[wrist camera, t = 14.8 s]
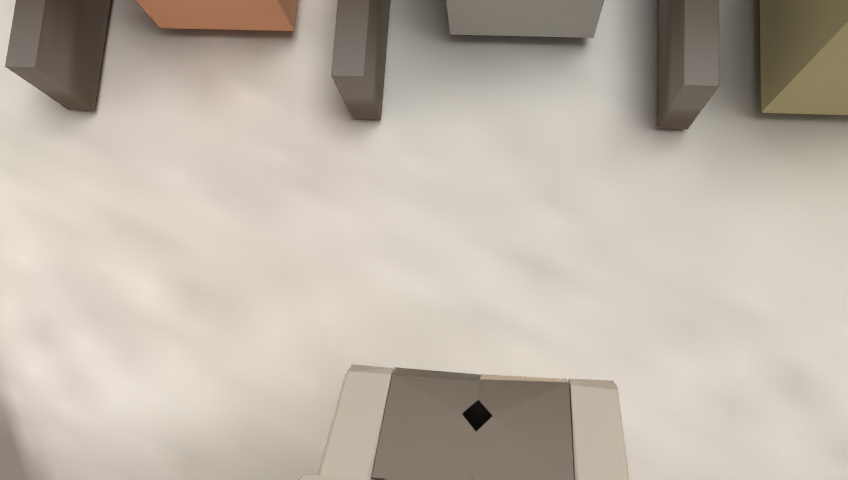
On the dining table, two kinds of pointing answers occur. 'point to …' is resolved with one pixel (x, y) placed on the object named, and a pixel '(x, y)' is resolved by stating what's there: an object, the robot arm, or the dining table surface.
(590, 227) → the dining table surface
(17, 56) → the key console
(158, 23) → the terracotta key
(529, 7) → the slate key
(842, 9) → the olive key
